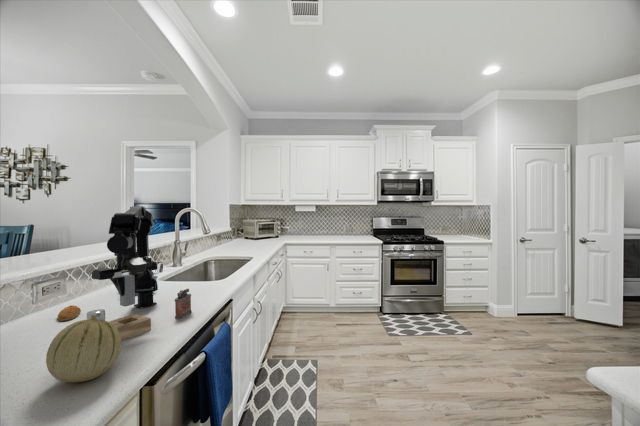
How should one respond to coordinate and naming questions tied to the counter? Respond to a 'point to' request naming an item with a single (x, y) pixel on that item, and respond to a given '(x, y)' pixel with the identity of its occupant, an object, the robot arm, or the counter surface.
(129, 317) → the socket block
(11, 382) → the counter surface
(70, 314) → the pastry
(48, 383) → the counter surface
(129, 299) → the square bit
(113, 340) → the cantaloupe
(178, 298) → the lighter
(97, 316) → the cylinder
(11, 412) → the counter surface
